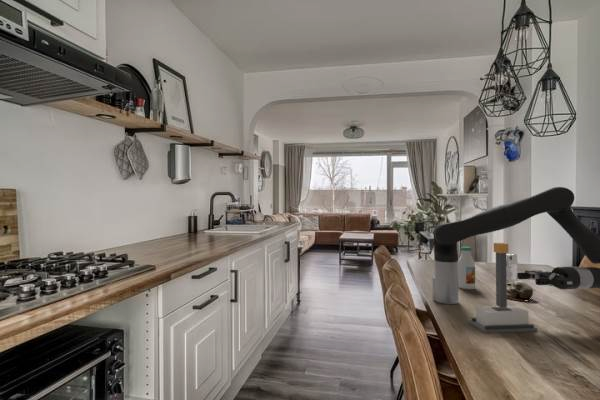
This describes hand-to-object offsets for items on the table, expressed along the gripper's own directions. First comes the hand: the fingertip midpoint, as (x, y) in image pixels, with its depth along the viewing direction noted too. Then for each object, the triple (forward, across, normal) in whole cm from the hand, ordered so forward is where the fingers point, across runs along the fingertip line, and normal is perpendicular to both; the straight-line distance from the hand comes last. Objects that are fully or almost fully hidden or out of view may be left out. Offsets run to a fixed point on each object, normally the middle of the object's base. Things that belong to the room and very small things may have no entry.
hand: (526, 278), depth 116 cm
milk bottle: (-8, -52, +16) cm, 55 cm away
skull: (-21, -32, +16) cm, 42 cm away
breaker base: (+9, 0, +16) cm, 18 cm away
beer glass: (-35, -58, +16) cm, 69 cm away
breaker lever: (+9, 0, +10) cm, 14 cm away
